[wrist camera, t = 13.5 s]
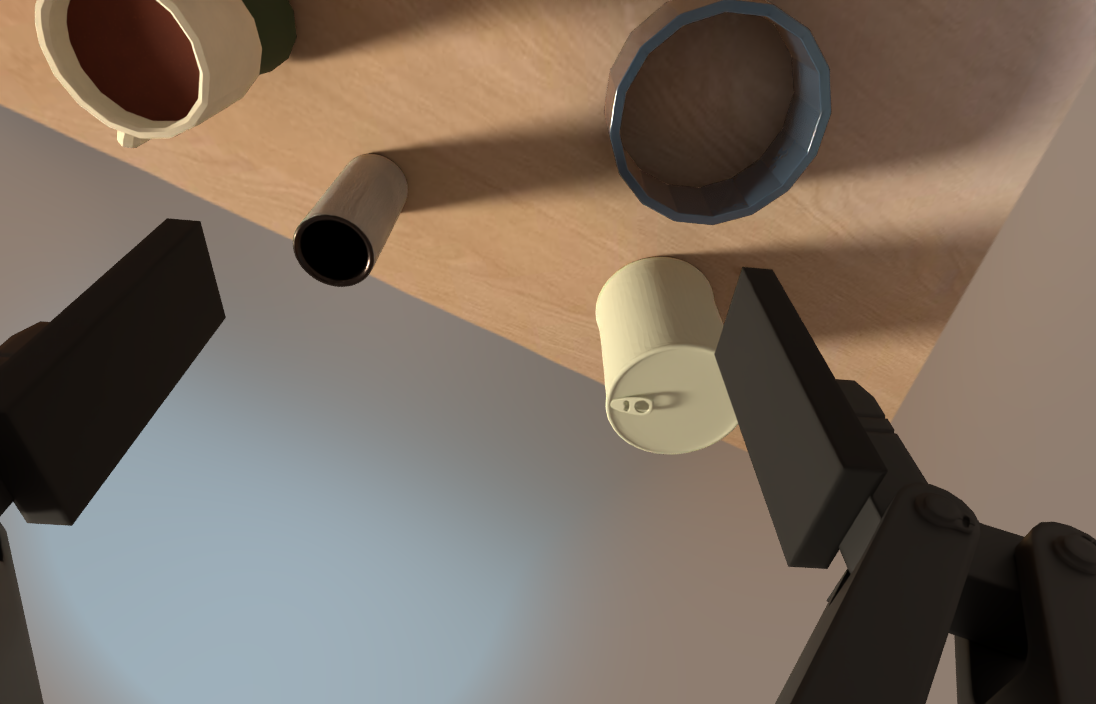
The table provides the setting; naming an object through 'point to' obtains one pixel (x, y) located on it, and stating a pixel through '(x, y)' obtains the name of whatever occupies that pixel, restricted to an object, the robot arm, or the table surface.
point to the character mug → (161, 57)
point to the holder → (780, 158)
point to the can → (663, 357)
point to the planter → (351, 221)
